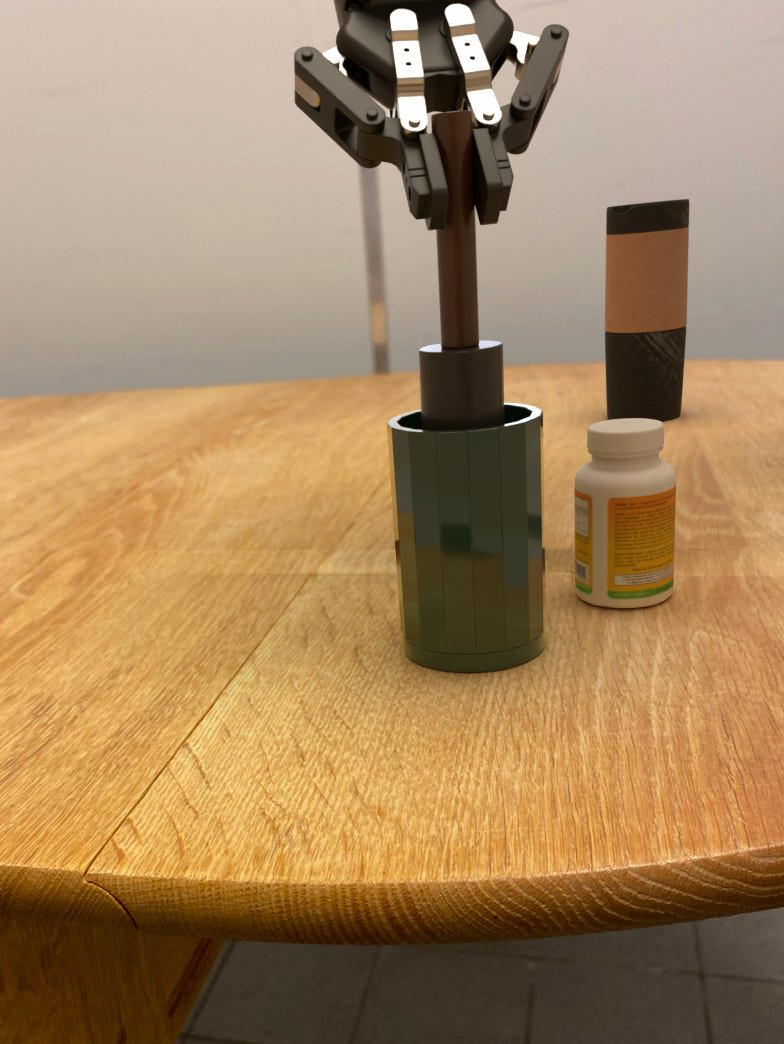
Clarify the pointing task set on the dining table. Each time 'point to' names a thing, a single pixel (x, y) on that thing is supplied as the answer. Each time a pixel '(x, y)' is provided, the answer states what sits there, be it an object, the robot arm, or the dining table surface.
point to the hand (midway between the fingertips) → (466, 211)
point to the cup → (470, 540)
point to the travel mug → (646, 308)
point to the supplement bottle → (625, 516)
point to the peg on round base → (459, 302)
